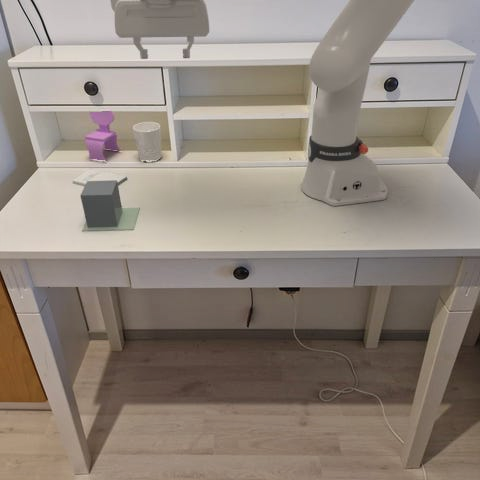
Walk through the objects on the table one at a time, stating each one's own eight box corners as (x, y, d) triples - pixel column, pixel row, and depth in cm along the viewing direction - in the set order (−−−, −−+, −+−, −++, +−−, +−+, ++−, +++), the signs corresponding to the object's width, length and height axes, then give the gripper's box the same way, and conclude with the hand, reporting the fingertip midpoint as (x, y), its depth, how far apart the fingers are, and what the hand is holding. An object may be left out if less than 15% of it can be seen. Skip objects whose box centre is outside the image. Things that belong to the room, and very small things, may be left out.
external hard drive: (109, 194, 125) (73, 185, 129) (127, 181, 131) (92, 172, 135) (108, 188, 124) (71, 179, 128) (127, 176, 130) (91, 167, 134)
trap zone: (139, 208, 117) (139, 207, 117) (133, 230, 109) (133, 229, 109) (91, 209, 117) (91, 208, 117) (82, 231, 109) (81, 230, 109)
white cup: (158, 164, 138) (154, 132, 133) (133, 162, 140) (128, 130, 134) (167, 153, 145) (163, 122, 139) (143, 152, 146) (138, 121, 140)
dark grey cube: (122, 212, 116) (117, 180, 111) (117, 227, 110) (111, 194, 105) (94, 212, 116) (87, 181, 111) (87, 228, 110) (80, 195, 105)
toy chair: (85, 160, 141) (75, 111, 133) (102, 149, 148) (93, 102, 140) (109, 164, 139) (100, 115, 130) (124, 152, 146) (117, 105, 137)
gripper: (105, -9, 94) (116, 62, 102) (207, -10, 95) (210, 60, 103) (111, -13, 100) (121, 55, 107) (208, -14, 100) (210, 54, 108)
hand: (165, 58), depth 105 cm, fingers open, 8 cm apart
